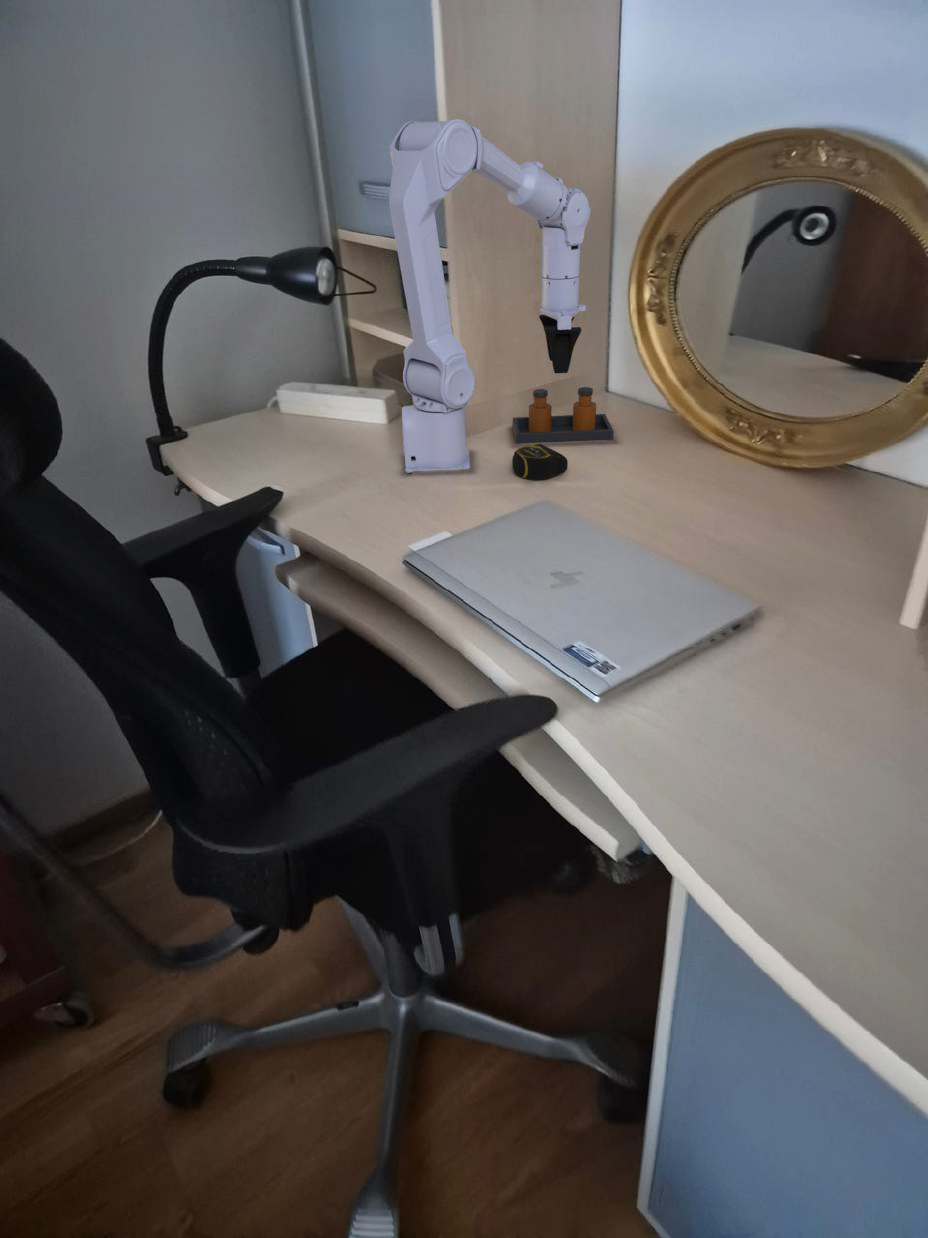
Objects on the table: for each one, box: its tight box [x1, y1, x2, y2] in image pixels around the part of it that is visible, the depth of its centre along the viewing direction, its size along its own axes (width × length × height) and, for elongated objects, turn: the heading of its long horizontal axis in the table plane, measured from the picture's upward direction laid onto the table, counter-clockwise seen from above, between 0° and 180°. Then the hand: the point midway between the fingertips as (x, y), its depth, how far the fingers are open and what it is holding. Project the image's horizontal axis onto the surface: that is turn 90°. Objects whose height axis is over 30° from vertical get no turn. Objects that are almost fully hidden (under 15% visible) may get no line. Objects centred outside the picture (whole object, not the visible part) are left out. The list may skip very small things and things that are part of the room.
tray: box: [512, 413, 614, 445], centre depth 130 cm, size 15×8×2 cm, turn 91°
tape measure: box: [511, 443, 569, 481], centre depth 115 cm, size 7×7×4 cm
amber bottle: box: [572, 386, 597, 431], centre depth 128 cm, size 4×4×7 cm
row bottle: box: [528, 388, 552, 432], centre depth 128 cm, size 4×4×7 cm
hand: (558, 366), depth 131 cm, fingers open, 7 cm apart
